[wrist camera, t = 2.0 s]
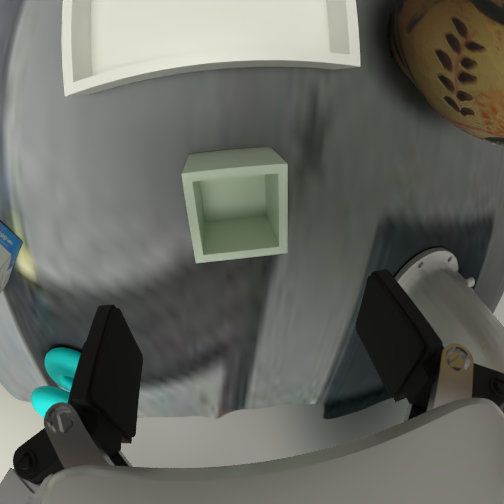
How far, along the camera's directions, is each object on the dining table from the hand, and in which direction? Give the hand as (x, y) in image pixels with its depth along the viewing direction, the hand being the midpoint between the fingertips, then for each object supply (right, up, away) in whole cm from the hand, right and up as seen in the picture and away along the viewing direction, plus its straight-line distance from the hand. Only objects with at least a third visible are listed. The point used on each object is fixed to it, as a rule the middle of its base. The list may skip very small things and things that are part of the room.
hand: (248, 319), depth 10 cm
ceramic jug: (+18, +22, +7) cm, 29 cm away
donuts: (-26, -14, +24) cm, 38 cm away
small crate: (-1, +8, +13) cm, 16 cm away
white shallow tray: (-3, +23, +4) cm, 24 cm away
